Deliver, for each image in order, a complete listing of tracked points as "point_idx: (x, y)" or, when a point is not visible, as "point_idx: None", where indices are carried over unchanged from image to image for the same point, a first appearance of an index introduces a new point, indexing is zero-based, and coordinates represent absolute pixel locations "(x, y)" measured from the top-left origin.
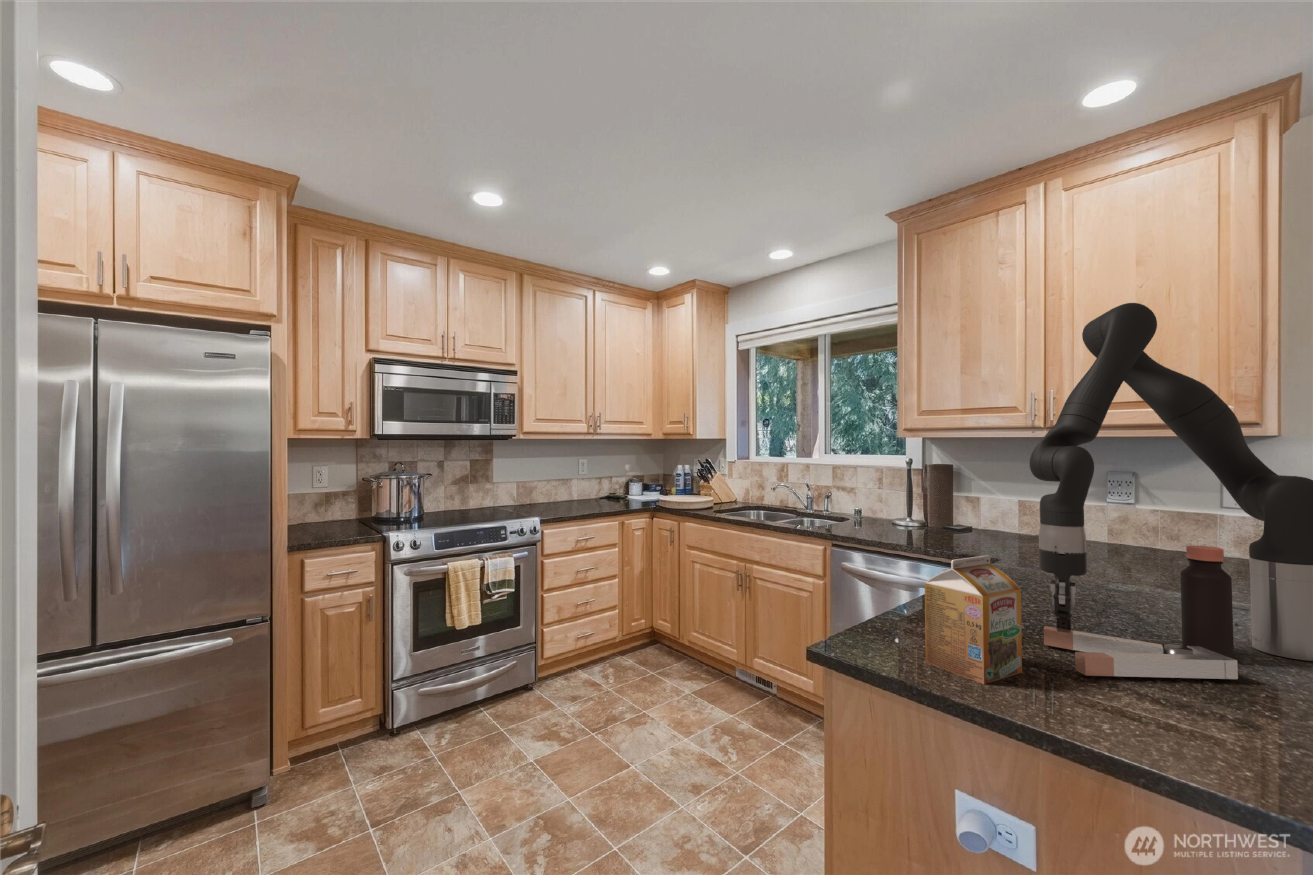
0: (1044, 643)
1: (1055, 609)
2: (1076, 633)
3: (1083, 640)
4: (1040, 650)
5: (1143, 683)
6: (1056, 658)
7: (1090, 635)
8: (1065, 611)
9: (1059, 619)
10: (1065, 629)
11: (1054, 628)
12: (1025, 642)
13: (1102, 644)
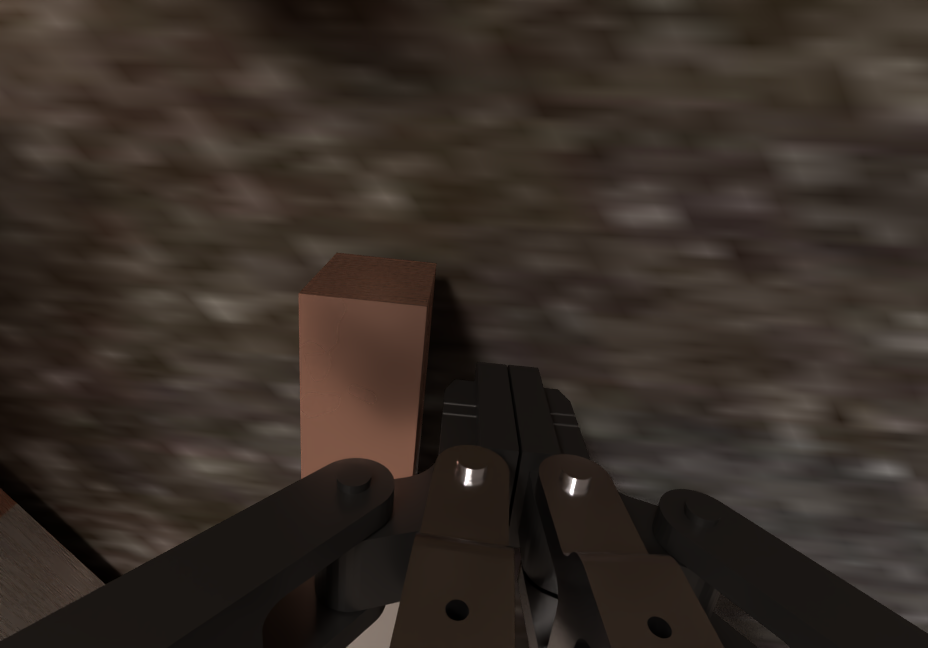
0: (332, 258)
1: (212, 534)
2: None
3: None
4: (262, 219)
5: None
6: (142, 304)
7: None
8: (339, 597)
9: (434, 465)
10: (407, 451)
11: (384, 378)
12: (417, 121)
13: None
